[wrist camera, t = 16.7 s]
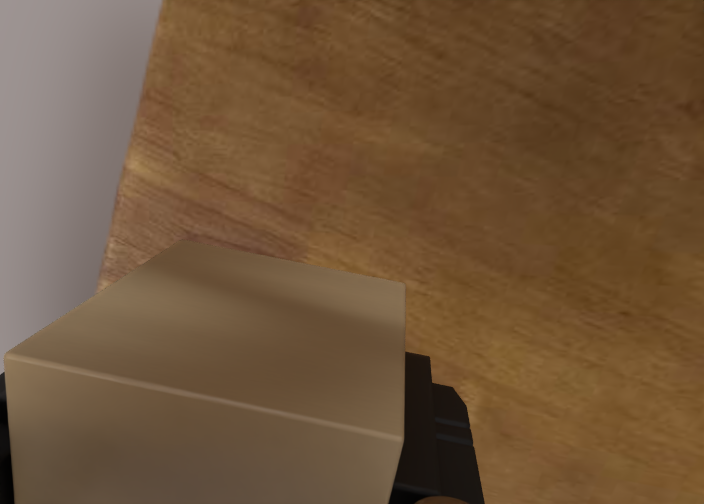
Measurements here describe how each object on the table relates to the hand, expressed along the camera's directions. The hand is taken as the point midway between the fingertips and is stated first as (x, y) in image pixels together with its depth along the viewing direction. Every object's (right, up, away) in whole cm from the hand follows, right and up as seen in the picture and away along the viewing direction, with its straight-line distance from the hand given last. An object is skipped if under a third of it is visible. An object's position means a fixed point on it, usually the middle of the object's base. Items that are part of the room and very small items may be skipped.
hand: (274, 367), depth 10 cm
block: (0, 0, 0) cm, 0 cm away
